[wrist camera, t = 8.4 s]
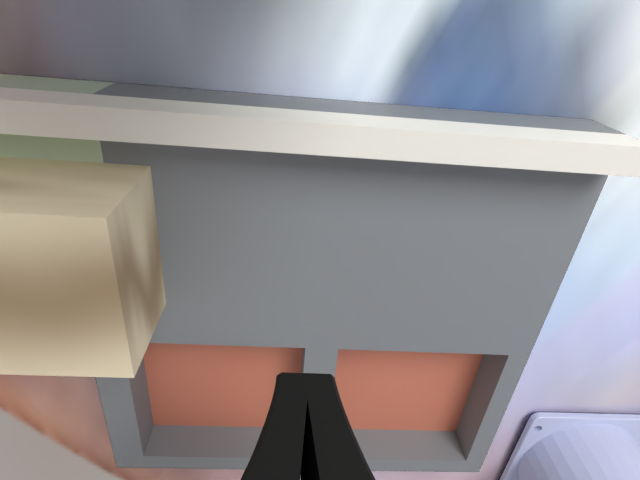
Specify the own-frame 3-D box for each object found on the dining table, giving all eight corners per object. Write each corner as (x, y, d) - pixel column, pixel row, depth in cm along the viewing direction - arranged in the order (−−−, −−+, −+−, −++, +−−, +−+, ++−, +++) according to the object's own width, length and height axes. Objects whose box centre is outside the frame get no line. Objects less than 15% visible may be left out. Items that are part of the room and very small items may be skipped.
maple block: (166, 303, 18) (134, 378, 15) (14, 297, 18) (-57, 372, 14) (150, 166, 15) (105, 218, 12) (-33, 153, 15) (-137, 204, 11)
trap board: (467, 440, 27) (496, 517, 23) (56, 433, 25) (11, 515, 21) (592, 119, 17) (680, 158, 13) (-63, 68, 15) (-190, 95, 11)
